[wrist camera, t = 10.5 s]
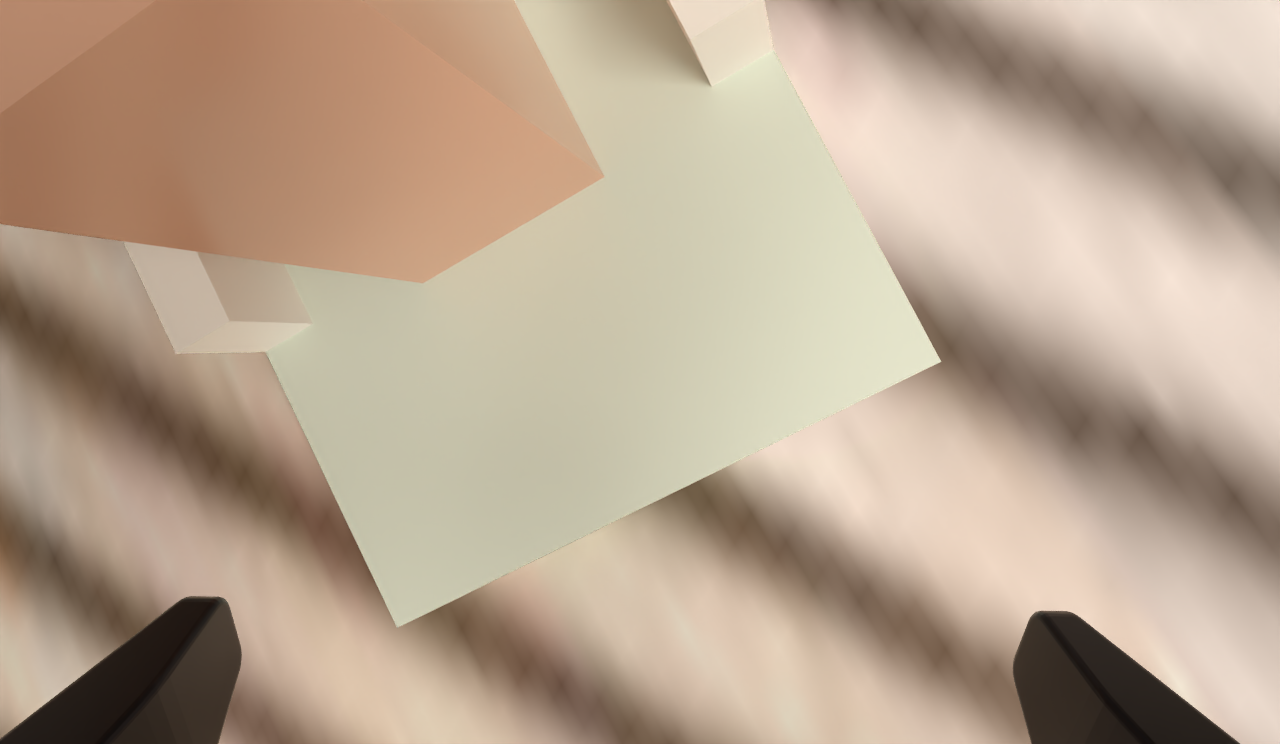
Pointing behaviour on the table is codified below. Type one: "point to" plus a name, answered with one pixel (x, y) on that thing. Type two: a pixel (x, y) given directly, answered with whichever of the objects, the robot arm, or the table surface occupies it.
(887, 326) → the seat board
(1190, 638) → the table surface
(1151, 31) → the table surface
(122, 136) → the tall peach block
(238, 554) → the table surface
